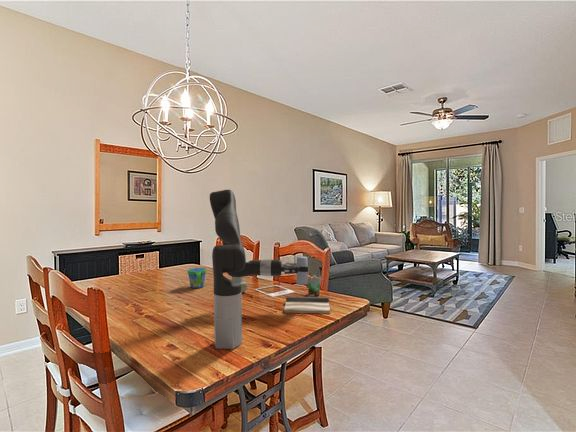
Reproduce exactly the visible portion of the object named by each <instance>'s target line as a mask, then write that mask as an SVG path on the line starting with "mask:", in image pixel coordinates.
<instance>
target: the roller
mask: <svg viewBox="0 0 576 432" xmlns="http://www.w3.org/2000/svg"><path fill="white" fill-rule="evenodd" d="M296 263H297V267H298V266H299V268H300V267H308V268H309V264H308V263H309V262H308V256H297V257H296ZM308 272H309V271H308ZM308 272H300V271H299V273H297V274H296V284H297V285H300V286H305V285H308V277H309V276H308V275H309V273H308Z"/></svg>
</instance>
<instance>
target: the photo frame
mask: <svg viewBox="0 0 576 432" xmlns="http://www.w3.org/2000/svg"><path fill="white" fill-rule="evenodd" d="M271 287H272V288H273V287H277V288H280V289H283V290H281V291H276V292H272V293H267V292H264V291H261V290H262V289H268V288H271ZM254 291H257V292H258V293H261V294H263V295H266V296H268V297H270V298H277V297H282V296H286V295H290V294H296V291H295V290H292V289H289V288H286V287H284V286H280V285H278V284H275V285H270V286H265V287H264V286H263V287H259V288H254Z"/></svg>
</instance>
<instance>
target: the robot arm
mask: <svg viewBox="0 0 576 432" xmlns="http://www.w3.org/2000/svg"><path fill="white" fill-rule="evenodd" d="M209 202H210V207H211V211H212V214H213V217H214V228H215V234H216V236H218V238H219V239H220V240H221V242H222V244H218V245H215V246H214V247H213V249H212V252H211V253H212V254H211V255H212V256H211V258H212V259H211V260H212V272H213V274H212V275H213V328H214V329H213V331H214V332H213V334H214V346H215V349H219V350H221V349H224V350H230V349H231V350H234V349H235V348H236V347H239V346H240V345H242V343H243V308H242V306H243V301H242V300H243V298H242V295H243V294H242V292H241V291H242V289H241V284H240V283H239V282H237V281H233V280H232V279H230V278H229V277H227V276H225V275H224V273H226V274H227V275H228V276H230V277H231V278H232V277H243V278H244V277H250V276H261V277H262V276H264V277H281V276H282V273H284V275H287V274H288V275H289V274H296V275H297V273H299V271H300V272H309V266H308V267H300V268H299V266H298V267H297V262H285V263H282V260H281V259H251V260H249V261H247V260H246V258H247V257H246V252H245V251H246V250H245V248H244V244H243V241H242V238H241V232H240V231H241V230H240V223H239V216H238V212H237V203H236V202H237V201H236V197H235V193H234V192H233V190H231V189H223V190H217V191H212V192H210V194H209Z"/></svg>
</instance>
